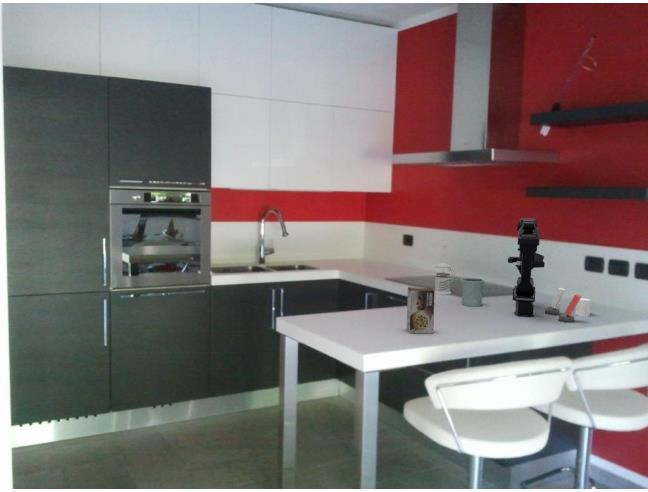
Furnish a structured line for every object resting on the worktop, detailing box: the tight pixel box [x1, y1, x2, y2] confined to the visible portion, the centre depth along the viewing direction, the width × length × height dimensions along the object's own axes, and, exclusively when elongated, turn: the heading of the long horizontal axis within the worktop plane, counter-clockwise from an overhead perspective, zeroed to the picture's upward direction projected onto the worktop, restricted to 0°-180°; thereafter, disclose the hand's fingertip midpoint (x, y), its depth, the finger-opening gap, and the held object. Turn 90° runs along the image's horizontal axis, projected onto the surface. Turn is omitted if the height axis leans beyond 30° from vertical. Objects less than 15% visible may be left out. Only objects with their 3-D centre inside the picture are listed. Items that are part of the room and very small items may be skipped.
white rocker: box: [550, 287, 566, 309], centre depth 261 cm, size 2×5×10 cm, turn 144°
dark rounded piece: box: [557, 312, 575, 323], centre depth 248 cm, size 6×6×4 cm
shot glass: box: [574, 297, 593, 317], centre depth 261 cm, size 7×7×7 cm
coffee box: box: [406, 286, 435, 334], centre depth 222 cm, size 9×6×16 cm
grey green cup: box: [460, 277, 485, 308], centre depth 278 cm, size 10×10×12 cm
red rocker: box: [564, 293, 583, 316], centre depth 246 cm, size 2×5×10 cm, turn 145°
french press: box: [433, 244, 455, 295], centre depth 312 cm, size 10×12×25 cm
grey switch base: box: [544, 305, 561, 316], centre depth 262 cm, size 6×6×4 cm
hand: (524, 281), depth 269 cm, fingers closed
